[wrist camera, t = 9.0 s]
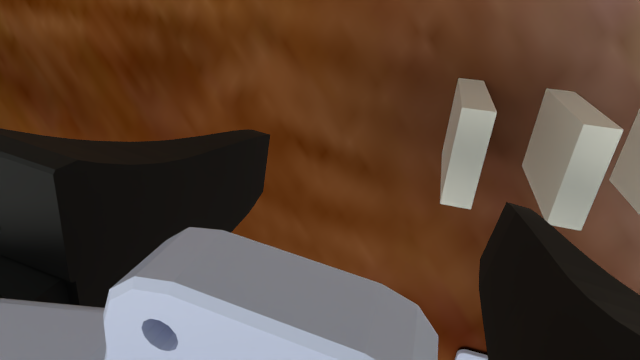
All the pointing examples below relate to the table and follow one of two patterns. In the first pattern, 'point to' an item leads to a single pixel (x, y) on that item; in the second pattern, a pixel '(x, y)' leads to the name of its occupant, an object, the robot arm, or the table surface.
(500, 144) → the table surface
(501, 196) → the table surface
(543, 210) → the domino
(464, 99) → the domino
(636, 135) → the domino
